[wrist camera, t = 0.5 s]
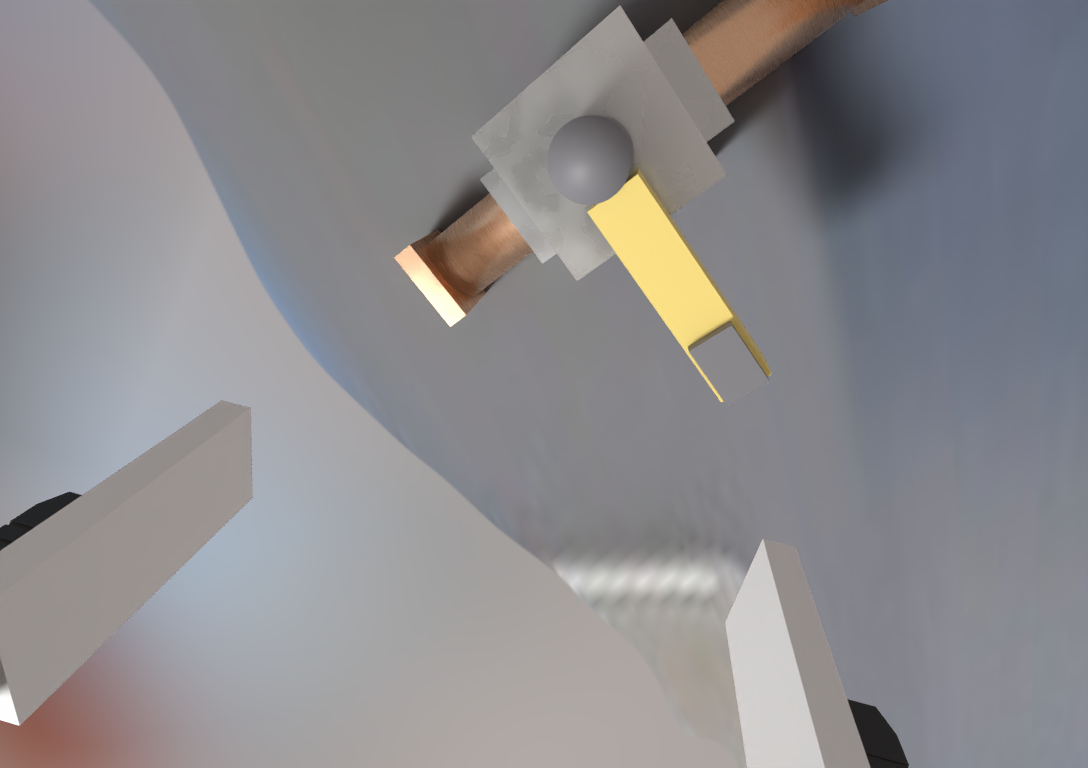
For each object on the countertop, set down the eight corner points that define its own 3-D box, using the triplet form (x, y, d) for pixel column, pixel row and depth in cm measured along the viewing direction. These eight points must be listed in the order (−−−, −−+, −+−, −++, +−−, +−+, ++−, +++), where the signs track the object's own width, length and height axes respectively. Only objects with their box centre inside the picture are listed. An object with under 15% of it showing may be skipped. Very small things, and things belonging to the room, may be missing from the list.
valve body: (406, 220, 37) (348, 245, 30) (813, -131, 28) (870, -217, 20) (488, 322, 39) (451, 369, 32) (894, 28, 30) (974, -1, 22)
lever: (544, 148, 26) (529, 153, 23) (605, 98, 25) (598, 95, 22) (707, 378, 29) (714, 413, 26) (767, 343, 28) (783, 374, 25)
